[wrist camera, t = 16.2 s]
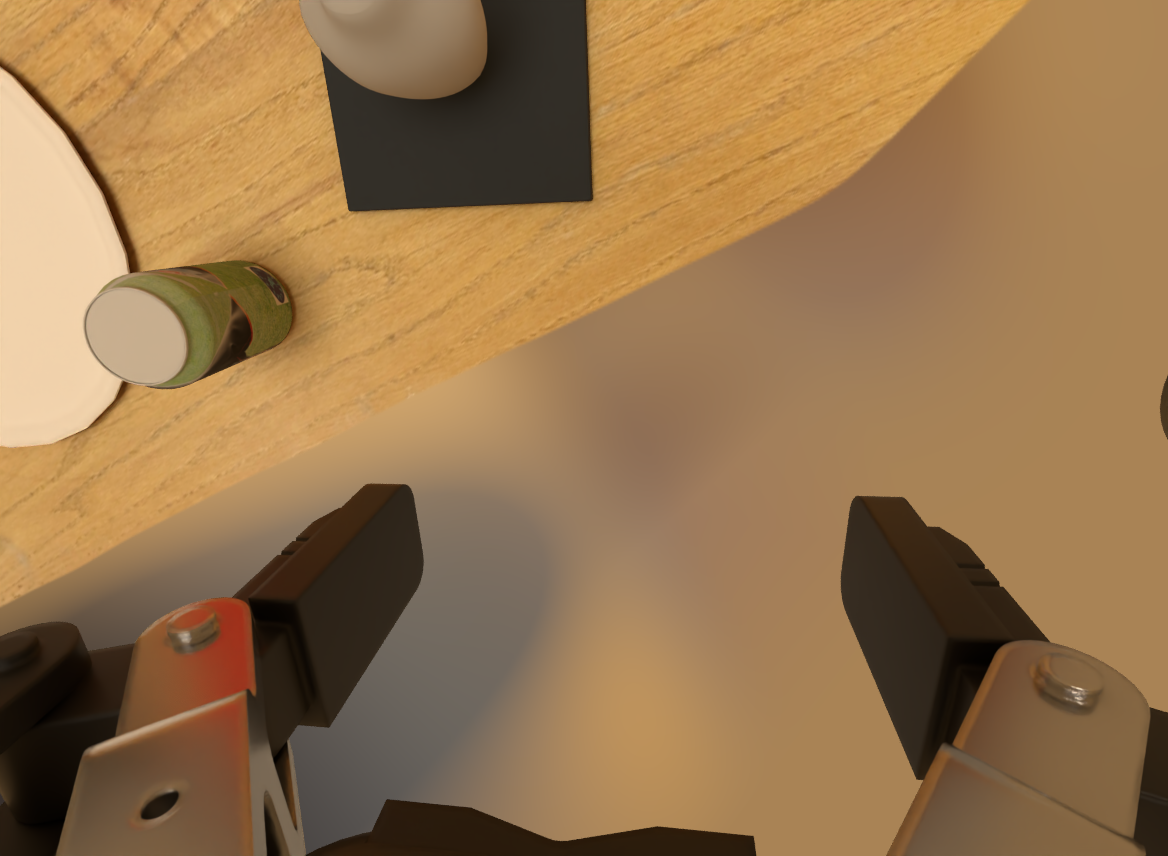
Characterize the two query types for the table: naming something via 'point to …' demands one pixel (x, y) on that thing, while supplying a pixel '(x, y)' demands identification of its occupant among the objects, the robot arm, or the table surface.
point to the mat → (478, 122)
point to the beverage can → (185, 322)
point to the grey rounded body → (402, 43)
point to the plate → (49, 276)
